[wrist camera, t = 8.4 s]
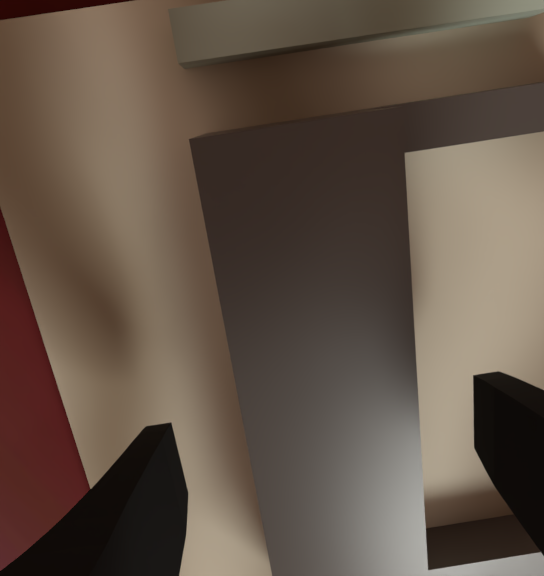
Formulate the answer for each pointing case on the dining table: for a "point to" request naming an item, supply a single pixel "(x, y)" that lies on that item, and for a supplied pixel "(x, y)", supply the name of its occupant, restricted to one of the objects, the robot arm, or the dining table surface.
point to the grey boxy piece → (342, 332)
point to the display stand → (193, 237)
